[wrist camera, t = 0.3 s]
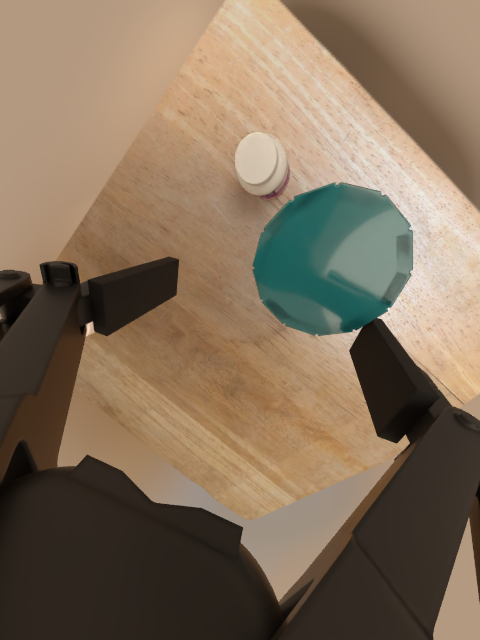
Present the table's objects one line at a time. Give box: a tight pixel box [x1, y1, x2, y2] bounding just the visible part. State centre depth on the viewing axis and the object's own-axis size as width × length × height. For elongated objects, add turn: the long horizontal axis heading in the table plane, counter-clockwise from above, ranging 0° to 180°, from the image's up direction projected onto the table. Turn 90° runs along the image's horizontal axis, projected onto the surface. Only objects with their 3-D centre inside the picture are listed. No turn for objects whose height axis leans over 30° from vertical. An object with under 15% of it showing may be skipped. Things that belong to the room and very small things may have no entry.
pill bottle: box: [235, 132, 290, 200], centre depth 24 cm, size 5×5×10 cm
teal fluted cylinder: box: [253, 182, 413, 336], centre depth 16 cm, size 8×8×10 cm
